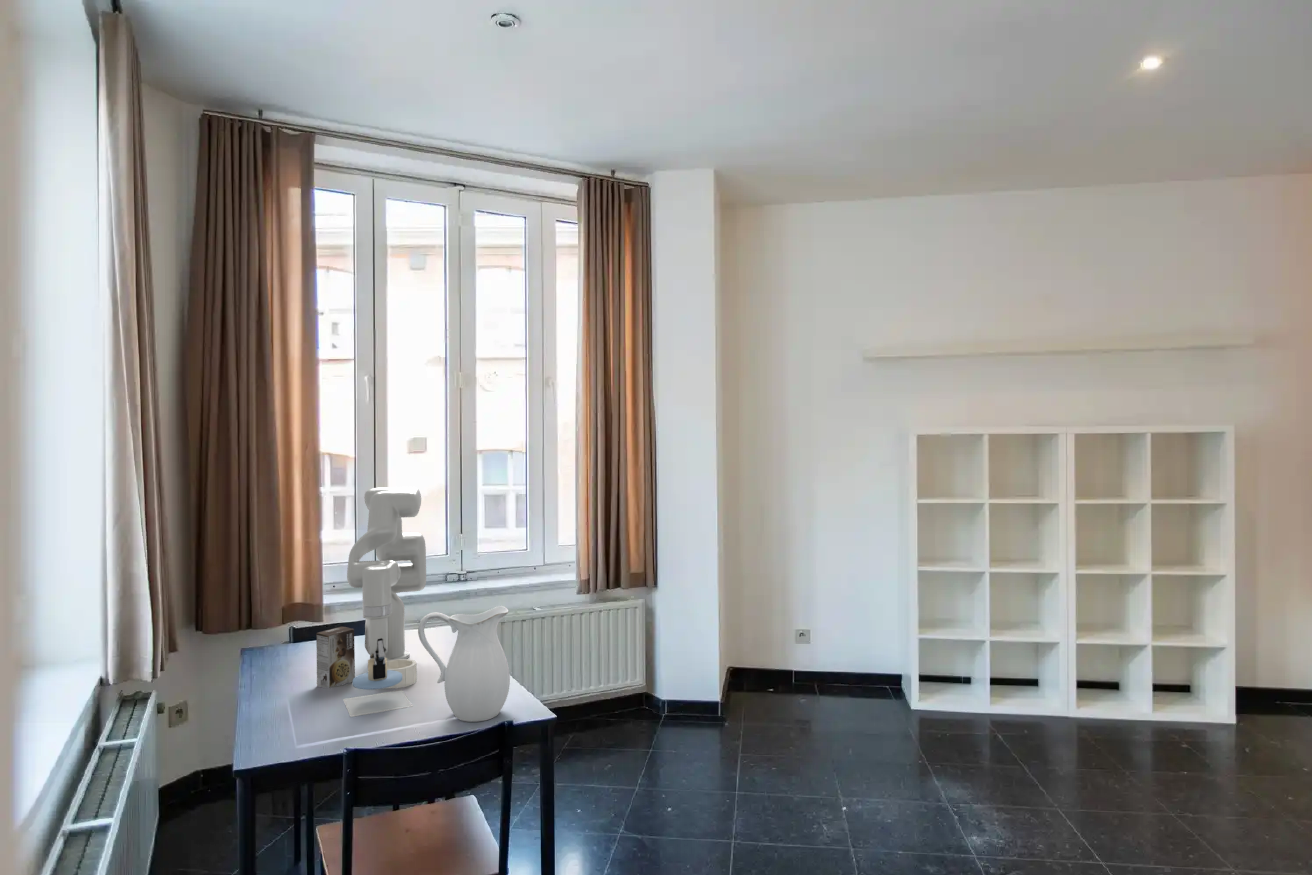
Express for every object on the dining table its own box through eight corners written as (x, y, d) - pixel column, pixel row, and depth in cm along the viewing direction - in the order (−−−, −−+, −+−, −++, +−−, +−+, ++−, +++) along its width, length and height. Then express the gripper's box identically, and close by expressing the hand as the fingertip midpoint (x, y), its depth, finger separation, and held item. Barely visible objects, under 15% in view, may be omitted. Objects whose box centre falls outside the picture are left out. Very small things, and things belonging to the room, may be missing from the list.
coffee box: (342, 677, 235) (341, 625, 235) (355, 681, 231) (355, 628, 232) (315, 686, 227) (315, 632, 227) (329, 689, 224) (329, 634, 224)
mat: (343, 701, 213) (343, 698, 213) (401, 691, 221) (401, 689, 221) (350, 719, 199) (350, 716, 199) (413, 708, 207) (412, 706, 207)
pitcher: (514, 703, 211) (513, 602, 211) (504, 725, 194) (503, 616, 194) (427, 704, 210) (427, 604, 210) (410, 727, 193) (409, 618, 193)
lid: (349, 678, 214) (349, 657, 213) (397, 670, 220) (397, 650, 220) (356, 692, 202) (355, 670, 202) (406, 684, 209) (406, 662, 208)
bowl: (374, 682, 230) (374, 662, 230) (412, 676, 236) (412, 657, 236) (380, 692, 221) (380, 671, 221) (419, 686, 226) (419, 666, 226)
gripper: (358, 605, 216) (359, 668, 217) (367, 619, 201) (367, 687, 202) (386, 602, 220) (386, 664, 220) (396, 615, 205) (397, 682, 205)
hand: (377, 674), depth 211 cm, fingers closed on lid, 5 cm apart
